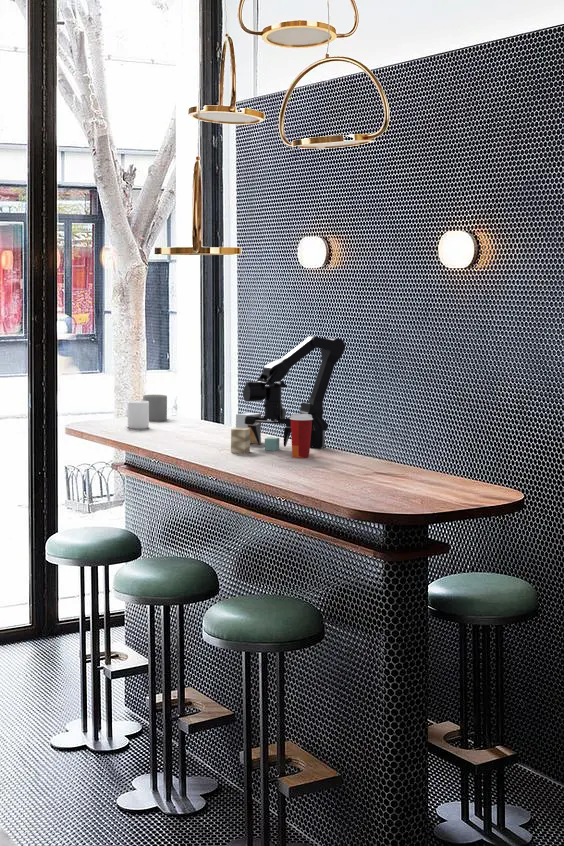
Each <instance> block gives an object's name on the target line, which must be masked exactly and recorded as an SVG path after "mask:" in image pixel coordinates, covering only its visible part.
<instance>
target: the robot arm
mask: <svg viewBox="0 0 564 846" xmlns="http://www.w3.org/2000/svg"><path fill="white" fill-rule="evenodd" d="M315 349H319V350H321V351H320V354H321V355H320V356H321V362H320V366H319V369H318V372H317V375H316V378H315V382H314V384H313V386H312V387H313V388H312V390H311V393H310V397H309V399H308V400H307V401H306V402H304V401H302V402H301V405H300V409H299V411H298V412H297V414H310V415H312V418H313V420H312V430H311V441H310V448H314V449H315V448H316V449H322V448H325V447H326V446H327V444H325V443H326V441H325V440H326V431H328V429H329V424H328V423H327V421H326V420H325V419H324V418H323V417H324V407H323V406H324V405H323V403H324V400H325V397H326V394H327V391H328V387H329V384H330V380H331V378H332V376H333V375H332V374H333V371H334V369H335V365H336V364H337V363H338V361H339V360H340V359H341V358H342V357H343V354H344V352H345V350H346V344H345V341H344V340H343V339H342V338H337V337H327V338H322V337H319V336H317V335H316V336H315V335H308V336H307V337H306V338H305V339H304V340H303V341H302V342H300V343H299V344H298V345H297V346H296V347H294V348H293V349H292V350H290V351H289V352H288V353H287V354H285V355H284V356H282V357H281V358H278V359H276V360H273V361H271V362H268V363H267V364H265V366H264V367H263V368H262V373H261V374H260V376H258V379H257V380H256V381H245V385H244V387H243V390H242V397H243V400H244V401H245V402H247V403H248V402H263V401H264V404H263V408H264V415H263V416H261V417H260V415H248V416H246V417H245V424H249V425H248V427H251V429H252V431H253V433H254V435H255V437H256V439H257V442H258V443H257V444H258V446H261V444H262V443H261V442H262V437H261V435H262V431H261V432H260V428H261V429H262V424H275V425H276V424H277V425H279V424H280V425H285V427H284V428H283V447H285V448H286V446H287V444H288V443H289V442H288V441H289V439H290V436H291V419H289V418H291V416H288V417H286V416H287V415H286V414H287V410H286V409H285V408H283V403H282V389H283V388H288V385H287V384H286V383H285V382H284V380H283V379H284V378H285V377H286V376H287V375H288V374H289V371H290V369H292V367H293V366H295V365H296V364H297V363H298V362H300V361H301V360H302V359H304V358H305V357H306V356H307V355H309V354H310V353H311V352H312V351H314V350H315ZM259 423H261V424H259Z"/></svg>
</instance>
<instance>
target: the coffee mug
mask: <svg viewBox="0 0 564 846" xmlns="http://www.w3.org/2000/svg"><path fill="white" fill-rule="evenodd" d="M140 401H148V402H149V422H161V421H163V422H164V421H167V420H168V396H167V395H165V394H144V395H143V396H142V399H141V400H140Z"/></svg>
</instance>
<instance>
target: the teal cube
mask: <svg viewBox="0 0 564 846" xmlns="http://www.w3.org/2000/svg"><path fill="white" fill-rule="evenodd" d="M279 450H280V437H271V436H270V437H269V436H268V437H266V438H264V451H274V452H275V451H279Z"/></svg>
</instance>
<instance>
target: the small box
mask: <svg viewBox="0 0 564 846" xmlns="http://www.w3.org/2000/svg"><path fill="white" fill-rule="evenodd" d="M248 415H260V417H261V418H262V413H256V412H245V413H236V414H235V428H250V444H258V442H257V439H256V437H255V435H254V433H253V431H252V429H251V427H248V425H249V424H245V417H246V416H248ZM259 424H261V425H262V423H259ZM260 432H261V433H262V427H261V428H260Z"/></svg>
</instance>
